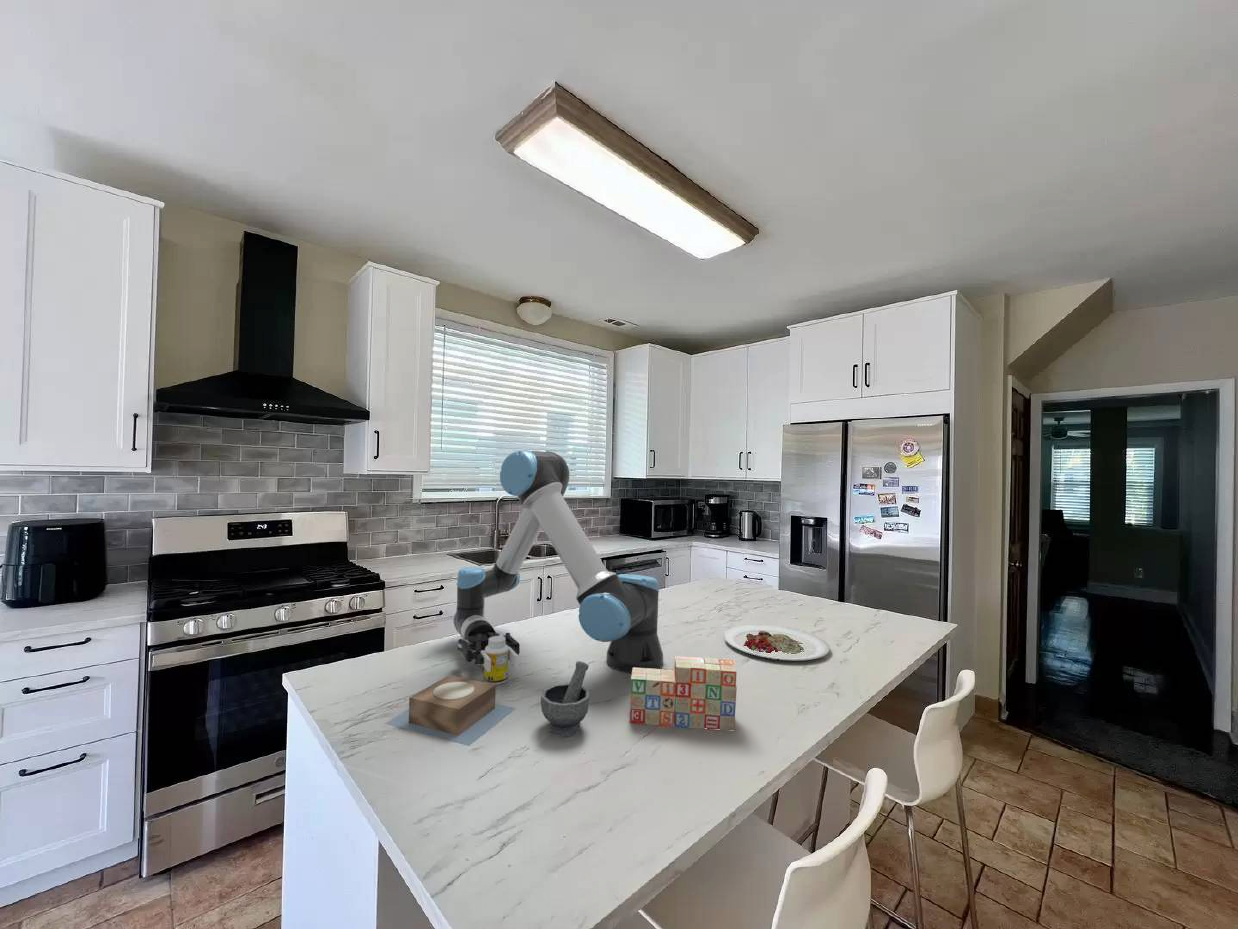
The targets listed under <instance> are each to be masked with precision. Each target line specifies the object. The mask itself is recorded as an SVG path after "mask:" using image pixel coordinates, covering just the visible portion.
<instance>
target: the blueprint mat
mask: <svg viewBox="0 0 1238 929" xmlns="http://www.w3.org/2000/svg"><path fill="white" fill-rule="evenodd" d="M516 709H517V707H514V706H510V705H505V704H501V703H496V702H495V709H494V710H492V711H491V712H490V713H488V714H487V715H486V716H484V717H483V718H482V719H480V720H479V721H477V722H476V723H475V724H473V725H472V726H471V727H469V728H468V729H467V730H465V731H464V732H463V733H461V734H460V735H459V736H458V735H454V734H450V733H446V732H442V731H439V730H435V729H431V728H427V727H423V726H419V725H415V724H412V723H409V709H407V710H406V711H404V712H402V713H401V714H399V715H397V716H395V717H393V718H391V719H390V720H389V721H387V722H385V723H384V724H385V725H389V726H394V727H397V728H400V729H404V730H409V731H412V732H416V733H420V734H423V735H427V736H432V737H434V738H437V739H442V740H446V741H450V742H453V743H458V744H460V745H461V744H462V745H464V746H471V745H472V744H473V743H475V742H476V741H478V739H480V738H481V737H482V736H484V735H485V734H486V733H487V732H488V731H490V730H491V729H493V728H494V727H495V726H496V725H497V724H499V723H500V722H501V721H503V720H504V719H505V718H506V717H507V716H509V715H511V713H512V712H514V711H515V710H516Z"/></svg>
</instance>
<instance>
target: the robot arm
mask: <svg viewBox="0 0 1238 929" xmlns="http://www.w3.org/2000/svg"><path fill="white" fill-rule="evenodd" d="M569 468H570V467H569V466H568V463H567V461H566V460H565V459H564V458H563V457H562V456H561V455H559V454H557V453H555V452H551V451H537V450H535V451H534V450H528V449H523V450H516V451H513V452H511V453H510V454H508V455H507V456H506V457H505V459H504V460H503V462H502V464H501V469H500V472H499V481H500V485H501V487H502V489H503V491H505V492H506V493H507V494H509V495H511V496H513V497H517V498H518V500H519V502H520V503H521V505H522V507H523V508H522V510H521V513H520V515H519V517H518V518H517V520H516V522H515V525H514V527H513V528H512V530H511V532H510V535H509V536H508V538H507V540H506V542H505V544H504V546H503V548H502V550H501V551H500V554H499V555H498V557H497V559H496V562H495V563H494V565H493V567H492V568H491V569H488V570H485V569H484V568H483V567H481V566H468V567H467V566H465V567H462V568H461V569H459V570H458V573H457V580H456V581H457V582H456V588H457V589H456V590H457V592H456V612H455V613H454V616H453V619H452V620H453V625H454V628H455V630H456V632H457V633H458V634H459V635H460V636H461V638H459V639H457V650H458V651H459V652H461V653H462V655H463V658H464V659H465V661H466V662H467V663H471V662H472V660H473V661H474V665H475V666H480V665H482V667H483V668H485V669H486V671H487V672H491V659H490V658H489V656H488V655H487V654H486V652H485V648H486V647H487V646H488V642H489V638H490V637H493V636H501V635H500V633H497V632H496V630H495V629H494V627H493V626H492V625H491V623H490V622H489V621H488V620H487V619H486V617H485V616H484V614H485V613H484V612H485V611H484V610H485V609H484V608H485V598H490V597H492V596H495V595H499V594H502V593H506V592H510V591H511V590H513V589H515V588H517V586H518V585H519V583H520V581H521V580H520V578H521V573H520V570H521V569H522V565H523V564H524V562H525V560H526V558H527V557H528V555H529V553H530V551H531V549H532V547H533V545H534V543H535V542H536V540H537V538H538V537H539V535H540V532H541V531H542V530H543V531H544V533H545V535H546V536H547V539H548V540H549V541H550V543H551V546H552V547H553V548H554V551H555V553H556V554H557V556H558V557H559V559H560V561H561V562H562V564H563V566H564V568H565V569H566V572H568V575H569V576H570V579H571V580H572V581H573V583H574V585H575V587H576V588H577V593H576V597H575V599H576V601H577V603H578V604H579V608H578V613H579V614H578V615H577V616H578V621H579V624H580V626H581V628H582V630H583V631H584V632H585V634H586V635H587V636H588V637H590V638H591V639H593V640H595V641H597V642H601V643H609V645H608V648H607V652H606V664H607V665H608V666H610V667H611V668H613V669H614V670H615V669H616V670H618V671H621V672H627V673H632V669H633V667H635V668H646V669H647V668H650V669H660V668H661V667H662V666H663V664H664V654H663V649H662V645H661V642H660V639H659V636H658V619H659V618H658V617H659V616H658V615H659V593H660V589H659V581H658V580H657V579H656V577H653V576H647V575H640V574H630V573H629V574H628V573H623V574H622V573H620V574H617V573H616V572H612V571H609V570H608V569H607V568H606V566H605V565H604V563H603V562H602V560H601V558H600V556H599V555H598V553H597V551H596V550H595V548H594V546H593V545H592V543H591V542H590V540H589V538H588V536H587V535H586V533H585V531H584V530H583V527H582V526H581V525H580V523H579V522H578V520H577V518H576V516H575V515H574V513H573V512H572V510H571V508H570V507H569V505H568V503H567V501H566V500H565V498H564V495H565V493H566V491H567V489H568V486H569V484H570V469H569ZM502 636H503V637H505V639H506V640H505V642H506V643H505V644H506V645H507V646H508V647H509V657H508V663H509V664H511V665H512V666H513V667H514V668H518V666H519V663H518V662H519V655H520V651H521V650H520V646H521V645H520V643H519V642H518V641H517V640H516V639H515V638H513V637H512V636H511V633H510V632H506V633H505V634H503V635H502Z"/></svg>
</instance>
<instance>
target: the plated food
mask: <svg viewBox="0 0 1238 929" xmlns="http://www.w3.org/2000/svg"><path fill="white" fill-rule="evenodd" d="M746 632H759V633H758V635H753V634H750V633H749V634H747V635H746V638H747V640H748V641H747V640H746V641H745V643H744V645H743V646H747V647H748V648H749V649H751V650H753V651H754V650H755V651H759V652H764V651H765V652H766V653H771V652H772V651H774V650H775V652H778V651H782V652H783V653H787V654H789V653H791V654H797V653H800V652H802V651H803V652H804V648H803V647H802V646H801V645H799V644H803V643H801V642H799V641H796V640H793V639H792V638H790V637H789V636H787V635H784V634H779V633H785V634H788V635H792V636H795V637H797V638H803V639H805V640H807V641H808V642H810V643H811V644H814V645H815V647H816V650H817V652H816V653H815V654H814V655H811V656H810V655H809V656H808V657H802V658H780V657H772V656H766V655H762V654H758V653H754V652H751V651H749V650H746V649H744V648H742V647H741V646H739V645H738V644H737V643H736V641H735V639H736V638H737V637H738V636H739V635H741V634H743V633H746ZM769 632H779V633H778V634H772V635H773V636H772V635H771V634H770V633H769ZM723 638H724V640H725V642H726V643H727V644H728V645H730V646H731V647H733V648H734V649H736V650H739V651H741V652H744V653H746V654H749V655H754V656H756V657H761V658H765V657H766V659H770V658H771V660H777V659H779V660H778V661H808V660H809V661H810V660H816V659H820V658H823V657H825V656H826V655H828V654H829V653H830V650H831V648H830V644H828V642H827V641H826V640H825V639H823V638H822V637H820V636H818V635H816V634H814V633H810V632H807V631H805V630H800V629H797V628H792V627H789V626H781V625H772V624H745V625H743V624H742V625H737V626H735V627H731V628H730V629H728V630H726V631H725V632H724V636H723ZM798 642H799V643H798ZM801 650H802V651H801ZM806 650H807V649H806ZM809 650H812V649H809ZM805 656H806V655H805Z"/></svg>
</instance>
